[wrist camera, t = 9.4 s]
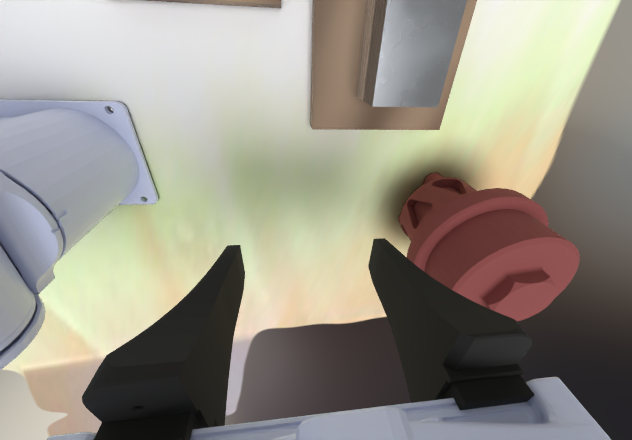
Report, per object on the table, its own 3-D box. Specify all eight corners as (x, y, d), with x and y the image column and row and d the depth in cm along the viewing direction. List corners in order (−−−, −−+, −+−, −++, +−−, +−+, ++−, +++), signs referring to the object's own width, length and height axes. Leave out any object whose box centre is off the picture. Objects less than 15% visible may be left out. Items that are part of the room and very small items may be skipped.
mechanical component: (377, 247, 28) (381, 162, 22) (463, 234, 28) (489, 147, 23) (431, 359, 18) (464, 254, 12) (565, 336, 18) (657, 224, 13)
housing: (355, 96, 18) (372, 106, 14) (370, -44, 14) (397, -74, 11) (409, 97, 18) (437, 107, 15) (438, -39, 14) (484, -65, 11)
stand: (310, 124, 20) (312, 129, 19) (314, -84, 14) (317, -98, 13) (429, 125, 21) (439, 129, 20) (481, -68, 15) (499, -79, 14)
